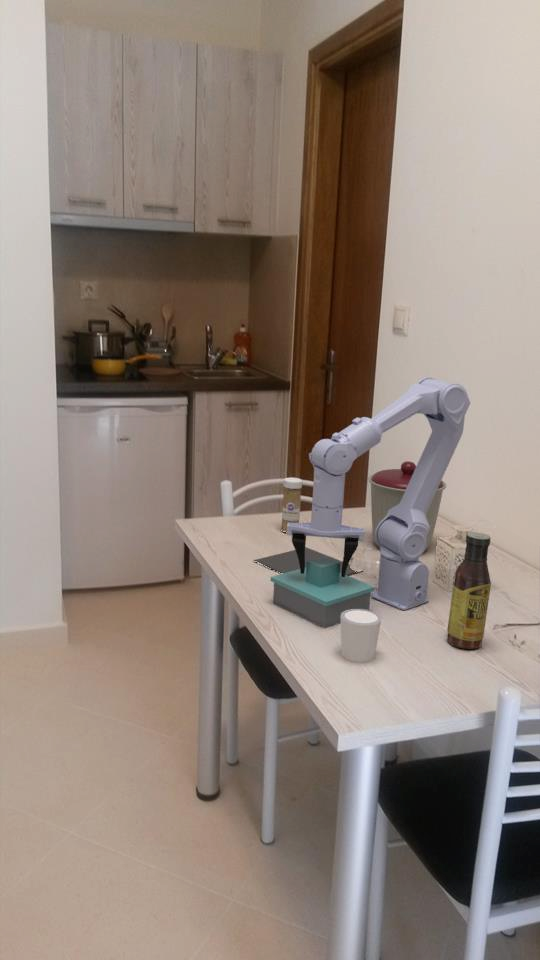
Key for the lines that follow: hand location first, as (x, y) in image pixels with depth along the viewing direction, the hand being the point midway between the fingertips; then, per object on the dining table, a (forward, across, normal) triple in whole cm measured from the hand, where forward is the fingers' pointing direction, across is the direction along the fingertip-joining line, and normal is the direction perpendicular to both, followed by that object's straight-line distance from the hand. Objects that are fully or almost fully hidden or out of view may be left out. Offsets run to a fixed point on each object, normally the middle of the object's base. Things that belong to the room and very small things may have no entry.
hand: (322, 573), depth 152 cm
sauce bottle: (+7, -26, +10) cm, 29 cm away
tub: (+7, 0, 0) cm, 7 cm away
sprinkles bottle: (+7, +10, -47) cm, 49 cm away
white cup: (+7, -7, +19) cm, 21 cm away
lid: (+3, 0, 0) cm, 3 cm away
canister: (+7, -18, -41) cm, 45 cm away
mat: (+7, +4, -22) cm, 24 cm away
